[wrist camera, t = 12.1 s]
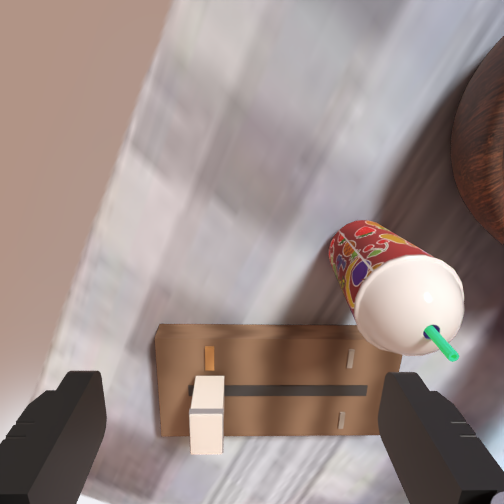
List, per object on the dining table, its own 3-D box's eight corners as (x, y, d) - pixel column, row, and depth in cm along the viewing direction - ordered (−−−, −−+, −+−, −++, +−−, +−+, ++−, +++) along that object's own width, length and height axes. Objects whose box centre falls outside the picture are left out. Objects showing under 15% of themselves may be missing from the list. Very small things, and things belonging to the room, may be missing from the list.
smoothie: (303, 256, 42) (357, 374, 23) (350, 194, 39) (453, 269, 21) (360, 293, 44) (453, 430, 25) (409, 236, 41) (552, 339, 23)
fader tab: (225, 375, 42) (223, 415, 37) (224, 411, 44) (223, 454, 39) (194, 375, 42) (188, 415, 37) (195, 411, 44) (189, 455, 39)
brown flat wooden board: (394, 325, 45) (406, 341, 42) (377, 416, 50) (387, 437, 47) (159, 323, 44) (154, 339, 41) (165, 417, 49) (161, 438, 46)
